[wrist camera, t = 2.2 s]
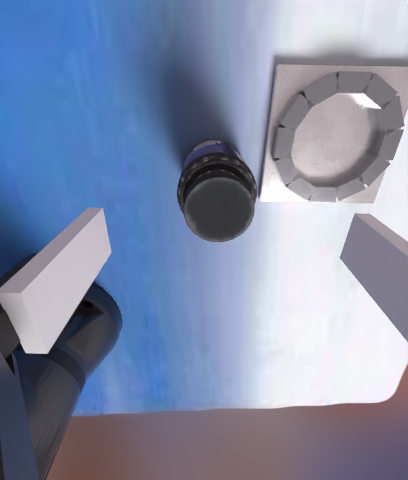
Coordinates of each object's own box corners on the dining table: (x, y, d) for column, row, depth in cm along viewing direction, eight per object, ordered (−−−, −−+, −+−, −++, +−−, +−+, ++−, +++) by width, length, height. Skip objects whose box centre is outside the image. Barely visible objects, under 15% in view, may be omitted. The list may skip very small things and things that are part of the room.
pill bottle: (177, 188, 27) (161, 238, 18) (193, 129, 24) (184, 150, 15) (231, 204, 28) (245, 260, 18) (253, 149, 25) (282, 181, 16)
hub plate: (258, 198, 28) (262, 205, 26) (275, 65, 22) (281, 62, 20) (369, 200, 28) (380, 207, 26) (415, 67, 22) (434, 65, 20)
